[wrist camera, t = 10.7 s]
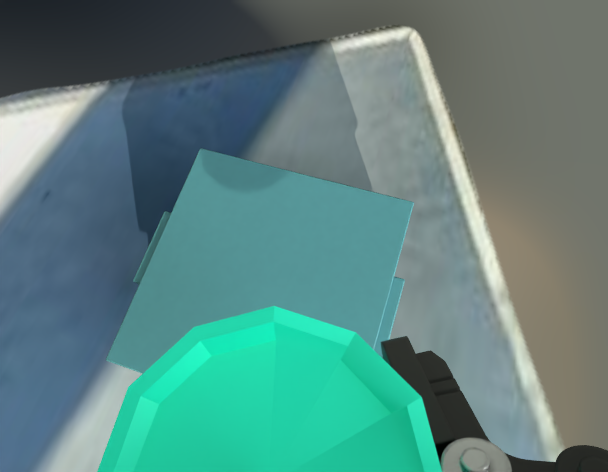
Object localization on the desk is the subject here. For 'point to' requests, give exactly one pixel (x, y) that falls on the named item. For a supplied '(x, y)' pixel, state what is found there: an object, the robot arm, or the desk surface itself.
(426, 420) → the candle
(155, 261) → the food tub
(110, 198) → the desk surface
